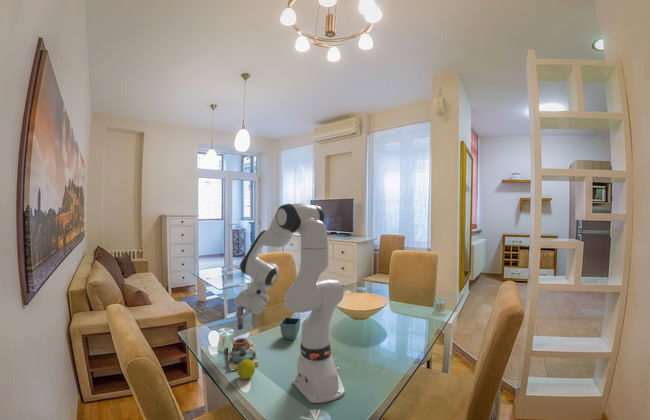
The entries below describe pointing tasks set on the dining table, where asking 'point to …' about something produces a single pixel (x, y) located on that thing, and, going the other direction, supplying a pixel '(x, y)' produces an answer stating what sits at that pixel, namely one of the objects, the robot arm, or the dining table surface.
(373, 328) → the dining table surface
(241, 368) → the tennis ball
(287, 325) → the flower pot
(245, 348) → the gear board
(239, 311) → the axle pin
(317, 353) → the robot arm
